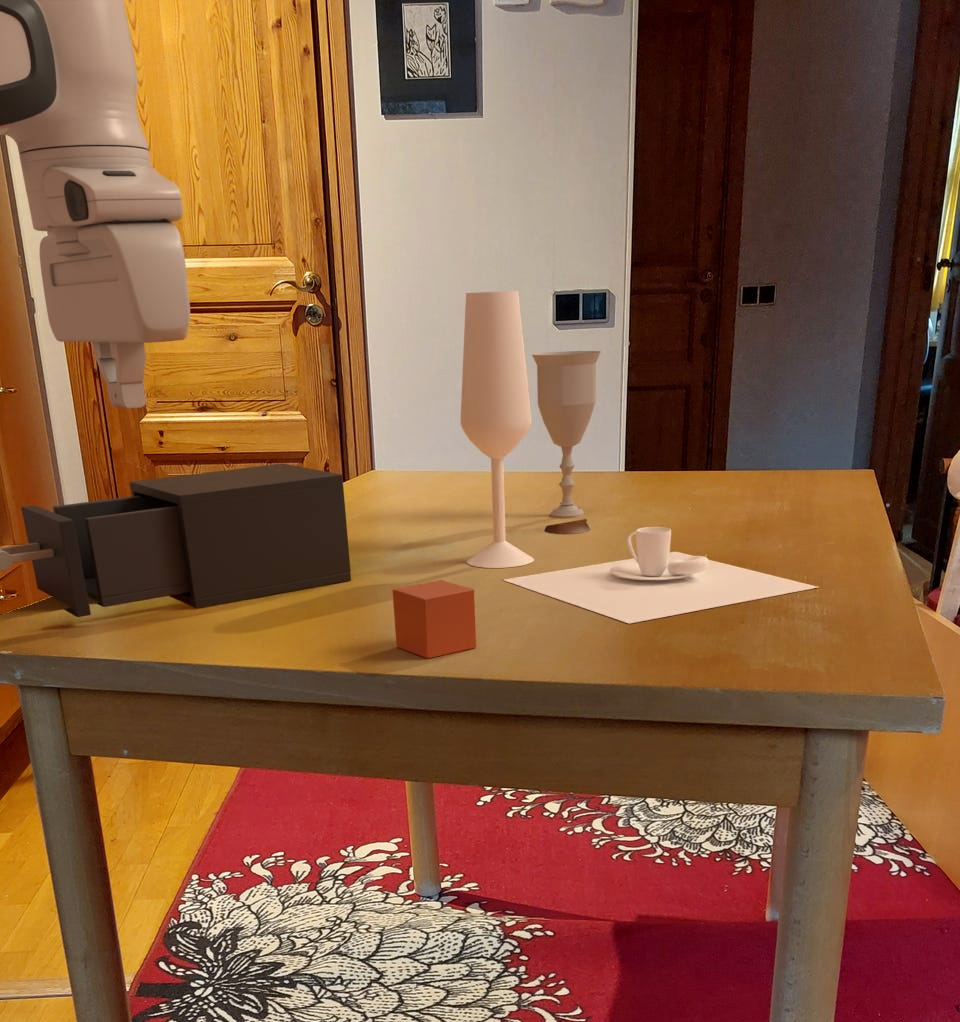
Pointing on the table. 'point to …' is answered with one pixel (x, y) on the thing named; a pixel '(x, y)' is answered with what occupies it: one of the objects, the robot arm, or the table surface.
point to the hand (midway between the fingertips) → (128, 407)
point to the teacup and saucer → (656, 582)
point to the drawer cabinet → (257, 530)
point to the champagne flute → (495, 402)
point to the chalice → (566, 418)
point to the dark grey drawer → (104, 551)
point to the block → (434, 618)
